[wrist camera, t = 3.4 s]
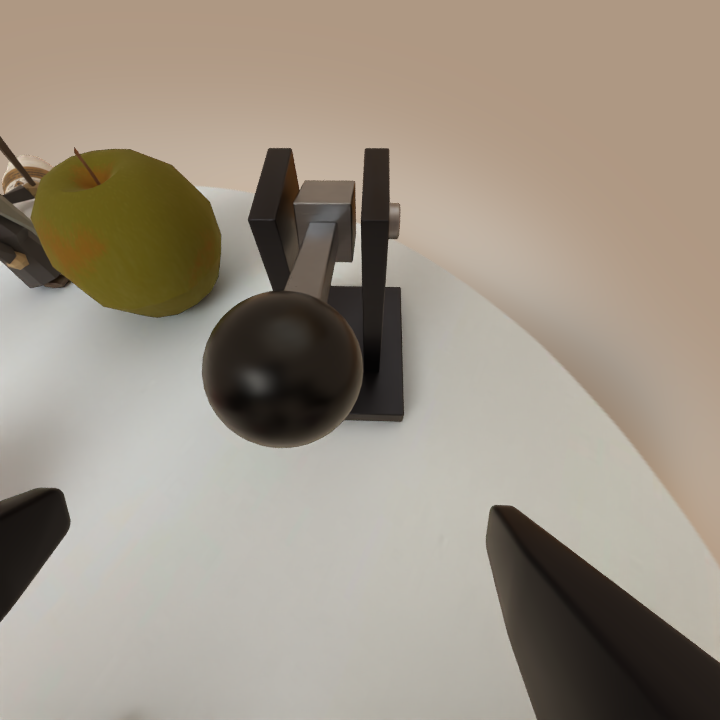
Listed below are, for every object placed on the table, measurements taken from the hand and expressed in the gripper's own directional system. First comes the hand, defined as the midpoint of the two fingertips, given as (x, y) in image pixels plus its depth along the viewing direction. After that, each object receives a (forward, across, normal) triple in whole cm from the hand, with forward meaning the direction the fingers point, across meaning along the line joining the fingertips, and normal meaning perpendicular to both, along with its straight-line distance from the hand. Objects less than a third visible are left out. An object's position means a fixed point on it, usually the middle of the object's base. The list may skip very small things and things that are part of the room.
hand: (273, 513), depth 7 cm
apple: (+22, +14, -3) cm, 26 cm away
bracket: (+18, 0, +1) cm, 18 cm away
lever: (+6, 0, -3) cm, 7 cm away
